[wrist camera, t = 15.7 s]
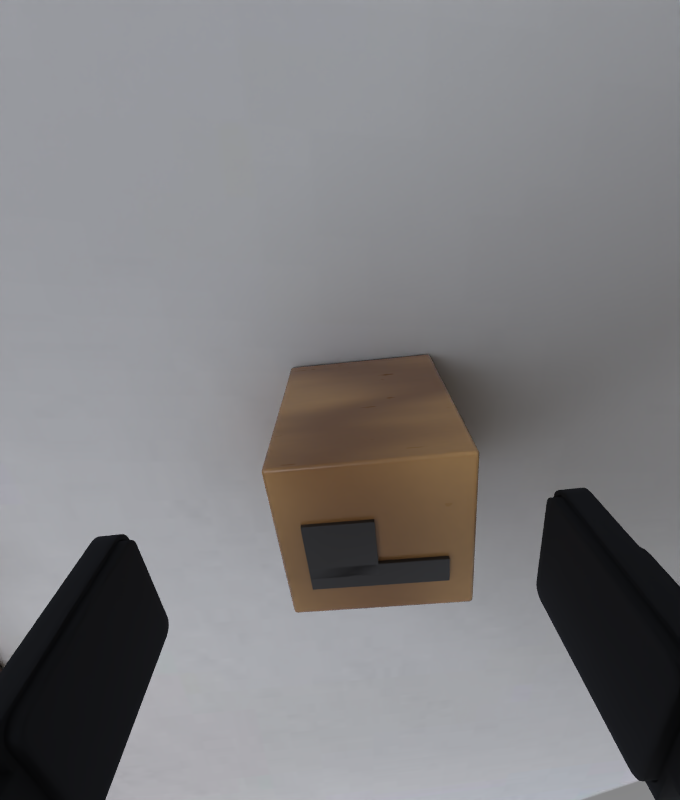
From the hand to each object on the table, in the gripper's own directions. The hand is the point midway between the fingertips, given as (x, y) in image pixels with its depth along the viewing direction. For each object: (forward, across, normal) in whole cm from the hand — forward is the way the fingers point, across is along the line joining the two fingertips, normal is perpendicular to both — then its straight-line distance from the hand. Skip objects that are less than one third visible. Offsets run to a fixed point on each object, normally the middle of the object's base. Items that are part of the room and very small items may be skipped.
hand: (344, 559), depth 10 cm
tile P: (+5, -1, -1) cm, 6 cm away
